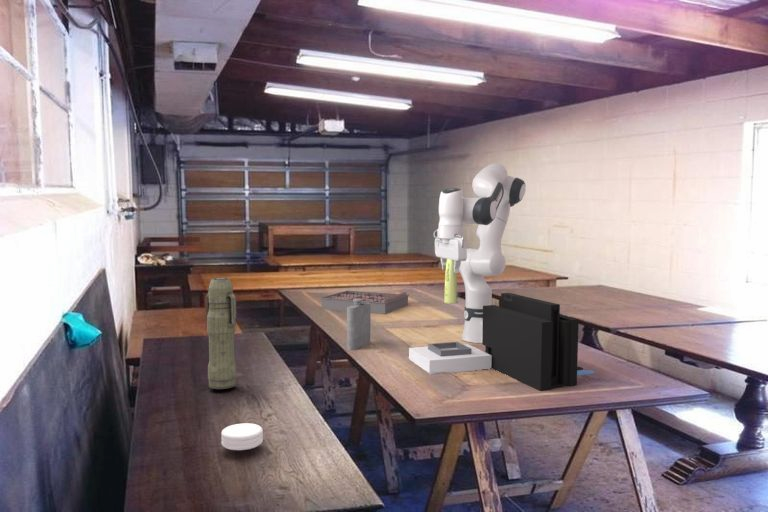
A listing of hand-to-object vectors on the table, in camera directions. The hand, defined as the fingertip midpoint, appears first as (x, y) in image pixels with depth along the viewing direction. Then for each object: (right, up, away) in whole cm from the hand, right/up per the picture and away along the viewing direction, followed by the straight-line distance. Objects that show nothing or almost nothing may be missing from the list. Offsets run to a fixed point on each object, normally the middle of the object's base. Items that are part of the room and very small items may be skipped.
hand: (450, 271), depth 229 cm
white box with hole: (0, -34, +3) cm, 35 cm away
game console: (+33, -36, -6) cm, 49 cm away
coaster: (-59, -41, -72) cm, 102 cm away
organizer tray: (-34, -25, +121) cm, 128 cm away
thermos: (-77, -37, -24) cm, 88 cm away
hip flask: (-35, -32, +31) cm, 57 cm away
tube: (0, -12, 0) cm, 12 cm away
